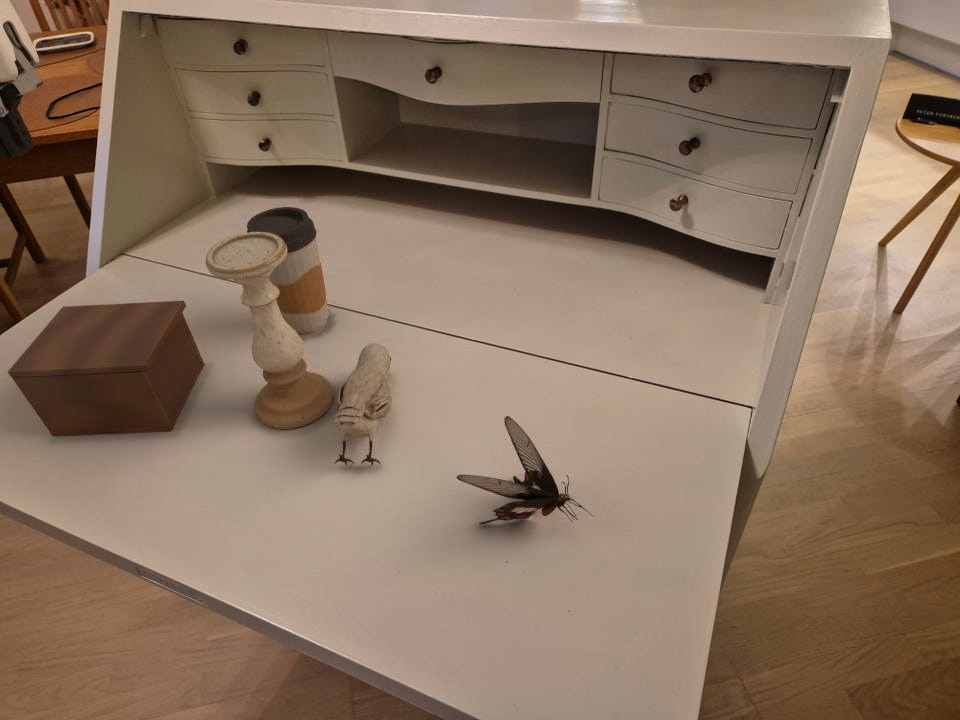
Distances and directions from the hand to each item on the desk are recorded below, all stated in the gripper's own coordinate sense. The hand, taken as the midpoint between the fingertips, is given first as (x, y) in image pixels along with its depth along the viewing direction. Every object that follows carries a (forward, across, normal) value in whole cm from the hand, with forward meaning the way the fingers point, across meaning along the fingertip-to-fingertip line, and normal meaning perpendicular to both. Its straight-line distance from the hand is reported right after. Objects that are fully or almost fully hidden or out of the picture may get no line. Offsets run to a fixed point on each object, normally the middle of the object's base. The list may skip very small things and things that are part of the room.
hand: (19, 152), depth 64 cm
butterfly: (+27, -49, +28) cm, 63 cm away
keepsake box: (+27, -4, +8) cm, 29 cm away
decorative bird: (+27, -33, +13) cm, 45 cm away
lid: (+18, -4, +8) cm, 20 cm away
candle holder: (+27, -24, +10) cm, 38 cm away
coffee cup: (+27, -22, -6) cm, 36 cm away
